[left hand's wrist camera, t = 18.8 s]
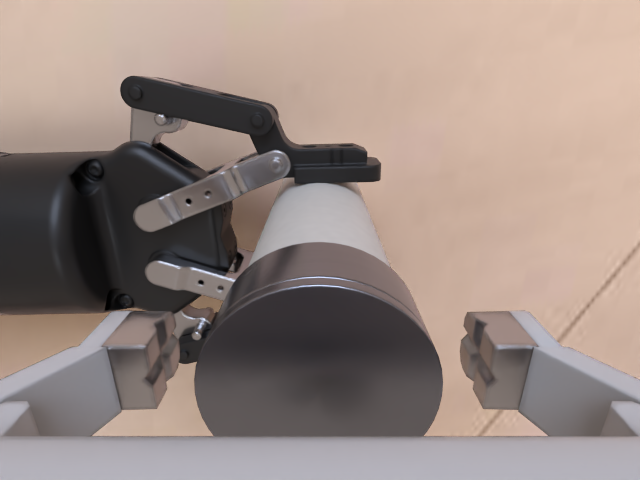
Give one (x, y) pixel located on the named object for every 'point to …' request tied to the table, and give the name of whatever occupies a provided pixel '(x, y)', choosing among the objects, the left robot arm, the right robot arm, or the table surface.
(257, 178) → the right robot arm
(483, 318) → the left robot arm
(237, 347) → the lid
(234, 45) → the table surface
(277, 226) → the white plastic cylinder
